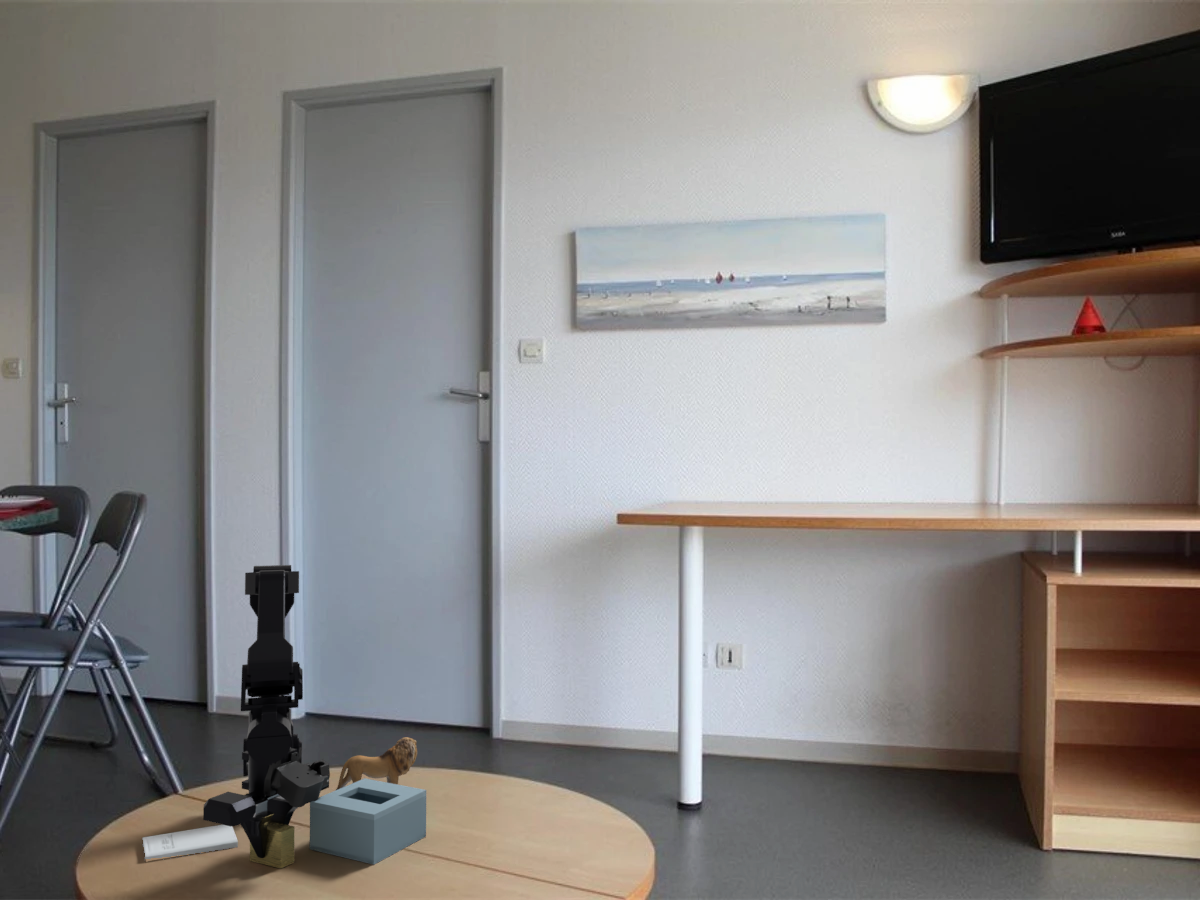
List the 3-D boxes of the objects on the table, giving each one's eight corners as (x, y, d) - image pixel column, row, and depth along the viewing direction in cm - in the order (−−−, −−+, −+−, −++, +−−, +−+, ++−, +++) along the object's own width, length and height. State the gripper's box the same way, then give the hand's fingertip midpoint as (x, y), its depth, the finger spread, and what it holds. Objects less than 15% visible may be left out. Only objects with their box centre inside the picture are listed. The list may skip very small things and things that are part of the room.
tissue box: (309, 849, 144) (309, 801, 145) (364, 823, 155) (364, 778, 155) (373, 864, 139) (374, 814, 139) (426, 836, 150) (426, 789, 150)
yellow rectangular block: (249, 860, 140) (249, 825, 140) (263, 854, 142) (263, 819, 142) (281, 868, 137) (281, 832, 137) (294, 862, 140) (294, 826, 140)
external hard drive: (237, 851, 145) (145, 866, 140) (230, 832, 153) (142, 846, 147) (238, 840, 145) (145, 855, 140) (230, 822, 153) (142, 835, 147)
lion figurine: (413, 783, 175) (413, 732, 175) (420, 792, 170) (421, 740, 170) (328, 795, 168) (328, 742, 169) (333, 804, 164) (334, 750, 164)
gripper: (261, 769, 128) (260, 890, 128) (358, 735, 145) (357, 841, 145) (200, 757, 133) (199, 874, 133) (300, 725, 150) (300, 828, 150)
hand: (268, 854), depth 140 cm, fingers closed on yellow rectangular block, 2 cm apart
